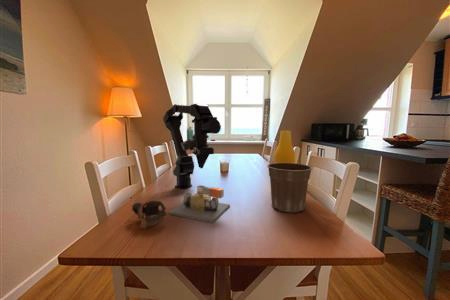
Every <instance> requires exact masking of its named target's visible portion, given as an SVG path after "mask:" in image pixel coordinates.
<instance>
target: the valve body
mask: <svg viewBox="0 0 450 300" xmlns="http://www.w3.org/2000/svg"><path fill="white" fill-rule="evenodd" d="M182 202H183V203H184V205H185V206H190V207H191V210H197V211H202V212H205V211H206V210H212V211H216V210H217V208H218V203H220V202H219V198H216V197H211V196H209V195H204V194H197V192H196V193H194V194H192V193H190V192H187V193H185V194H184V196H183V201H182ZM183 203H182V204H183Z"/></svg>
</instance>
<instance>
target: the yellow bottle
mask: <svg viewBox="0 0 450 300" xmlns="http://www.w3.org/2000/svg"><path fill="white" fill-rule="evenodd" d="M278 141H279V142H278V146H277V147H276V150H275V152H274V156H273V157H274V158H273V159H274V160H273V163H296V152H295V149H294V146H293V143H292V132H291V130H280V135H279V140H278Z"/></svg>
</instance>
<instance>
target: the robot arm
mask: <svg viewBox="0 0 450 300" xmlns="http://www.w3.org/2000/svg"><path fill="white" fill-rule="evenodd" d="M183 114H187V115H190V116H191V117H192V118H193V119H192V120H191V123H193V127H194V128H193V133H194V134H192V136H191V137H192V138H191V139H187V140H185V141H184V138H183V134H182V131H181V125H182V120H183V118H184V115H183ZM163 123H164V125H165V127H166V129H168V130H169V132H170V134H171V138H172V142H173V146H174V150H175V154H176V156H177V158H176V160H175V167H174V169H173V170H172V173H173V176H175V177H176V185H175V186H174V188H179V189H184V190H185V189H187V188H190V187H193V184H192V181H191V179H192V178H191V175H193V174H194V172H195V171H194V170H195V161H194V160H193V156H192V155H188V153H187V151H188V150H189V151H191V152H192V154H193V155H194V156H195V157H196V161H197V166H198V168H200V169H203V168H204V166H205V164H206V162H207V161H208V158H209V157H210V155H214V154H215V150H214V148H213V147H212V146H209V145H210V144H208V139H209V134H211V135H214V134H215V135H217V134H219V133H220V132H221V129H222V125H221V123H220V121H219V120H218V117H217V116H214V115H213V113H212V111H211V108H209V105H208V104H202V103H201V104H200V103H192V104H190V105H184V104H178V103H177V104H176V103H175V104H173V105H172V106H171V108H169V109H168V110H167V111H166V112H165V114H164V116H163Z"/></svg>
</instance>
